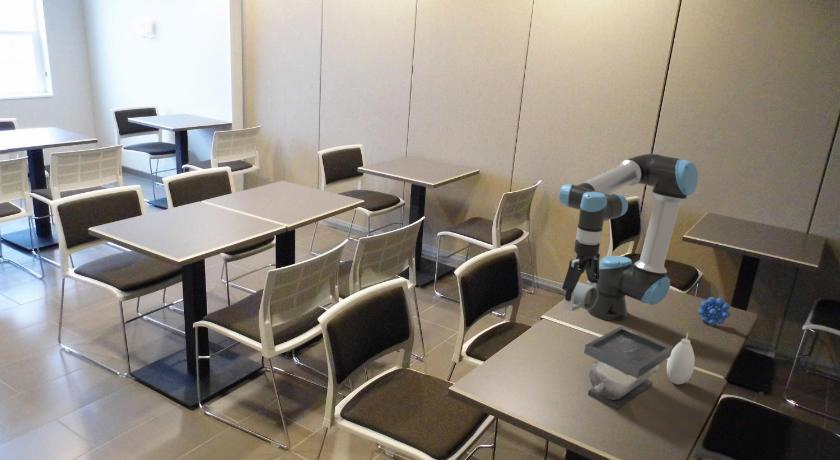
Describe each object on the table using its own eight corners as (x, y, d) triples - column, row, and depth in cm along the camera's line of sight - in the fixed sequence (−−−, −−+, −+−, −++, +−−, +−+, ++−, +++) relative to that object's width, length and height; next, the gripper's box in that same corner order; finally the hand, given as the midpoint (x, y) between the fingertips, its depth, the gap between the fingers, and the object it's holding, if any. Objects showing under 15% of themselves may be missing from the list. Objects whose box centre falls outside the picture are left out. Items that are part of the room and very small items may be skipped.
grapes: (730, 327, 235) (737, 299, 231) (723, 332, 230) (730, 303, 226) (700, 316, 243) (707, 289, 239) (693, 321, 238) (699, 293, 234)
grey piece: (613, 367, 200) (620, 326, 195) (663, 391, 188) (672, 348, 183) (577, 389, 186) (584, 345, 181) (628, 416, 174) (638, 370, 169)
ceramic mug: (576, 297, 204) (579, 276, 201) (597, 306, 198) (600, 285, 195) (556, 305, 197) (559, 284, 195) (577, 315, 191) (580, 293, 189)
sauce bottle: (663, 385, 191) (674, 335, 185) (663, 373, 198) (674, 324, 192) (690, 392, 188) (702, 340, 183) (689, 379, 195) (700, 330, 190)
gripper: (597, 231, 200) (587, 292, 207) (556, 244, 185) (547, 309, 192) (617, 237, 195) (606, 299, 202) (577, 251, 180) (567, 318, 187)
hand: (577, 304), depth 197 cm, fingers closed on ceramic mug, 11 cm apart
